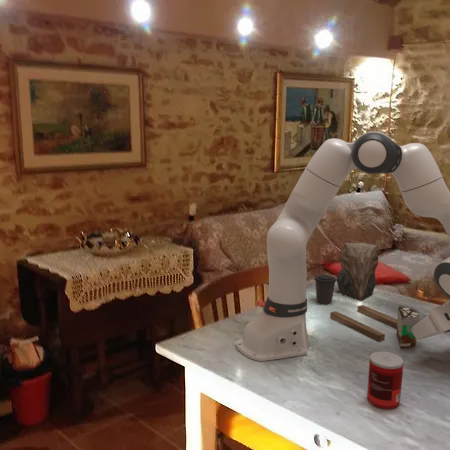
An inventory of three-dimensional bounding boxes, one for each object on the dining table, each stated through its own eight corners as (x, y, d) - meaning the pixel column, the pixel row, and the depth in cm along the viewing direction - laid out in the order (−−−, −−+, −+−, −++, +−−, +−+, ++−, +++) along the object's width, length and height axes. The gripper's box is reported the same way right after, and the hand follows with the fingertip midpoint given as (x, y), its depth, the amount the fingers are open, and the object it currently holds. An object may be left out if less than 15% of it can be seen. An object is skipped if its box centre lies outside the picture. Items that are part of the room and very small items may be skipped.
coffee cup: (322, 297, 198) (324, 271, 196) (339, 302, 192) (341, 276, 190) (308, 301, 193) (309, 275, 191) (325, 307, 187) (326, 281, 185)
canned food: (393, 392, 130) (396, 351, 127) (405, 409, 122) (408, 366, 120) (362, 392, 129) (365, 351, 127) (372, 410, 121) (375, 366, 119)
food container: (422, 352, 152) (425, 320, 150) (400, 350, 153) (403, 318, 151) (416, 335, 164) (418, 305, 162) (395, 333, 165) (398, 304, 163)
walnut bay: (378, 341, 159) (379, 335, 158) (330, 317, 177) (330, 312, 177) (412, 332, 166) (412, 326, 166) (362, 310, 185) (362, 304, 184)
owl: (334, 292, 203) (336, 242, 199) (355, 286, 211) (358, 238, 207) (360, 301, 194) (363, 249, 189) (381, 295, 201) (385, 244, 197)
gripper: (476, 298, 148) (443, 319, 159) (427, 310, 138) (396, 332, 149) (488, 318, 146) (454, 338, 156) (440, 332, 136) (407, 352, 146)
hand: (425, 335), depth 152 cm, fingers closed
